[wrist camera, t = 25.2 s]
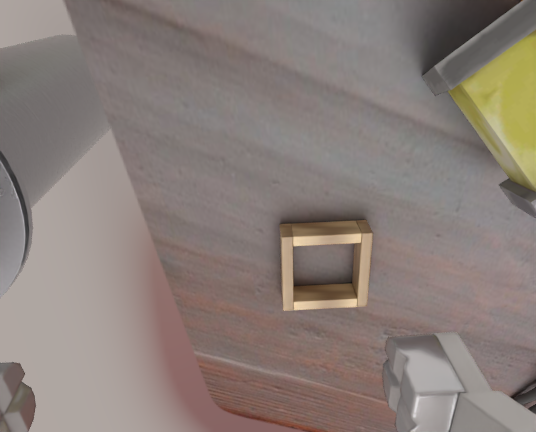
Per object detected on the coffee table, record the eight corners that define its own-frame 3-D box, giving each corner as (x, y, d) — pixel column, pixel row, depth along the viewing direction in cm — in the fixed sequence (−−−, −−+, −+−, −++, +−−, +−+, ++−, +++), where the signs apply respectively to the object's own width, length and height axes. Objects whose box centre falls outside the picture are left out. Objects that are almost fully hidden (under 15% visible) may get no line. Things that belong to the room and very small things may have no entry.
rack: (281, 294, 44) (283, 311, 42) (279, 223, 41) (281, 237, 38) (361, 290, 44) (367, 306, 42) (366, 219, 41) (373, 232, 39)
